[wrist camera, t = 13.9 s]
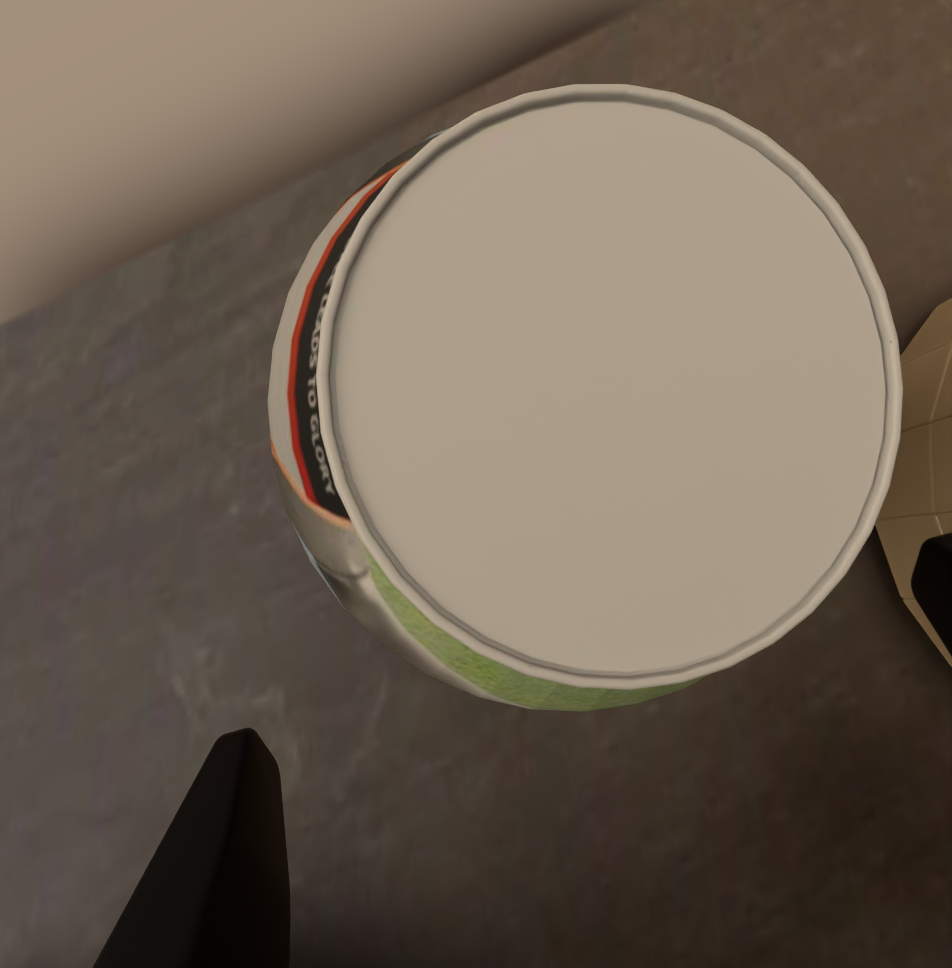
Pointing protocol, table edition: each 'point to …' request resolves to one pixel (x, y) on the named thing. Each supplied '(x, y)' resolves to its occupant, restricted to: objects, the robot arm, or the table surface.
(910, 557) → the bowl
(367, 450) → the beverage can
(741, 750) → the table surface
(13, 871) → the table surface
